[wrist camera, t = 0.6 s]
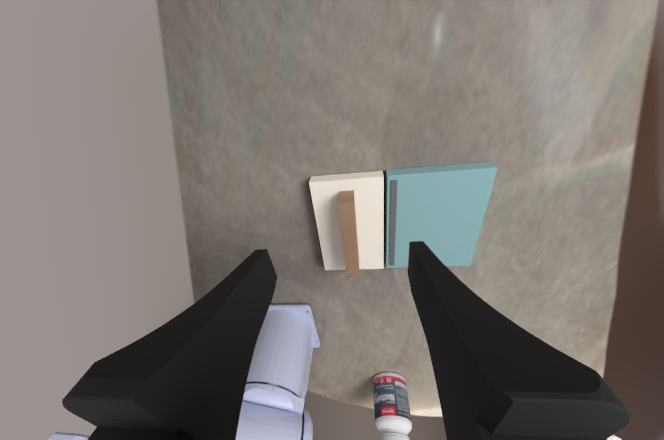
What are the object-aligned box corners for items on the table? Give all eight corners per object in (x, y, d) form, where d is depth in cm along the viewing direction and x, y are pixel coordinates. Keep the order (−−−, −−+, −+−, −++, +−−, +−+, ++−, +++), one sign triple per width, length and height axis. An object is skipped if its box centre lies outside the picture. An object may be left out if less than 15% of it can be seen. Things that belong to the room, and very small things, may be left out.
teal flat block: (465, 257, 24) (471, 266, 23) (385, 259, 25) (386, 268, 24) (490, 161, 18) (498, 167, 17) (385, 170, 19) (387, 176, 18)
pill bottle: (390, 367, 37) (399, 442, 30) (411, 380, 39) (424, 453, 32) (366, 377, 40) (368, 448, 32) (386, 388, 41) (393, 458, 34)
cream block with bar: (382, 260, 25) (385, 283, 22) (326, 262, 26) (323, 285, 23) (382, 170, 19) (386, 187, 17) (311, 176, 20) (304, 193, 17)
